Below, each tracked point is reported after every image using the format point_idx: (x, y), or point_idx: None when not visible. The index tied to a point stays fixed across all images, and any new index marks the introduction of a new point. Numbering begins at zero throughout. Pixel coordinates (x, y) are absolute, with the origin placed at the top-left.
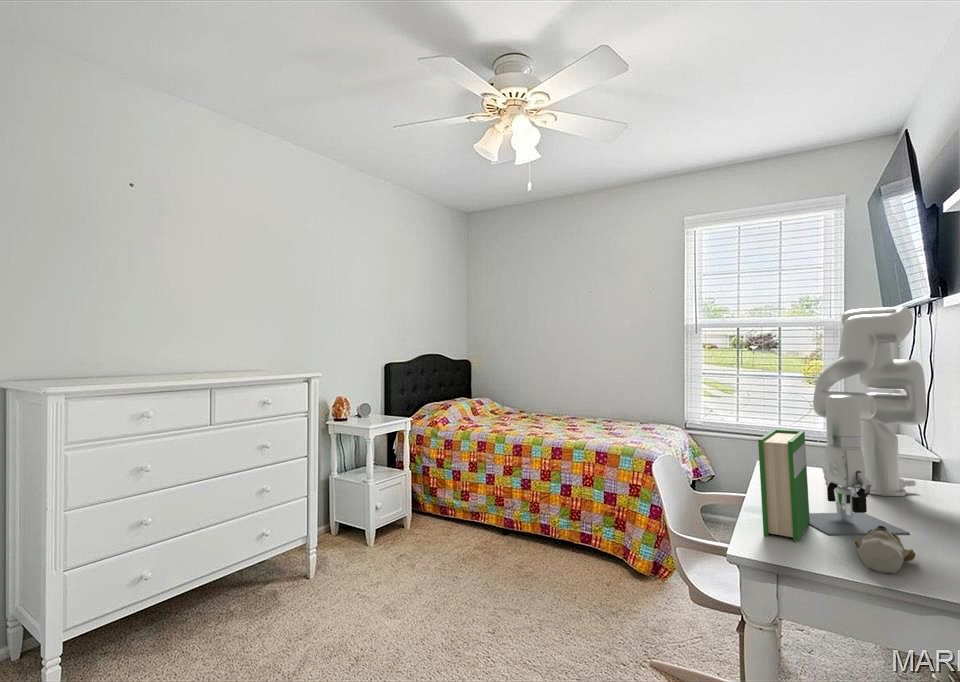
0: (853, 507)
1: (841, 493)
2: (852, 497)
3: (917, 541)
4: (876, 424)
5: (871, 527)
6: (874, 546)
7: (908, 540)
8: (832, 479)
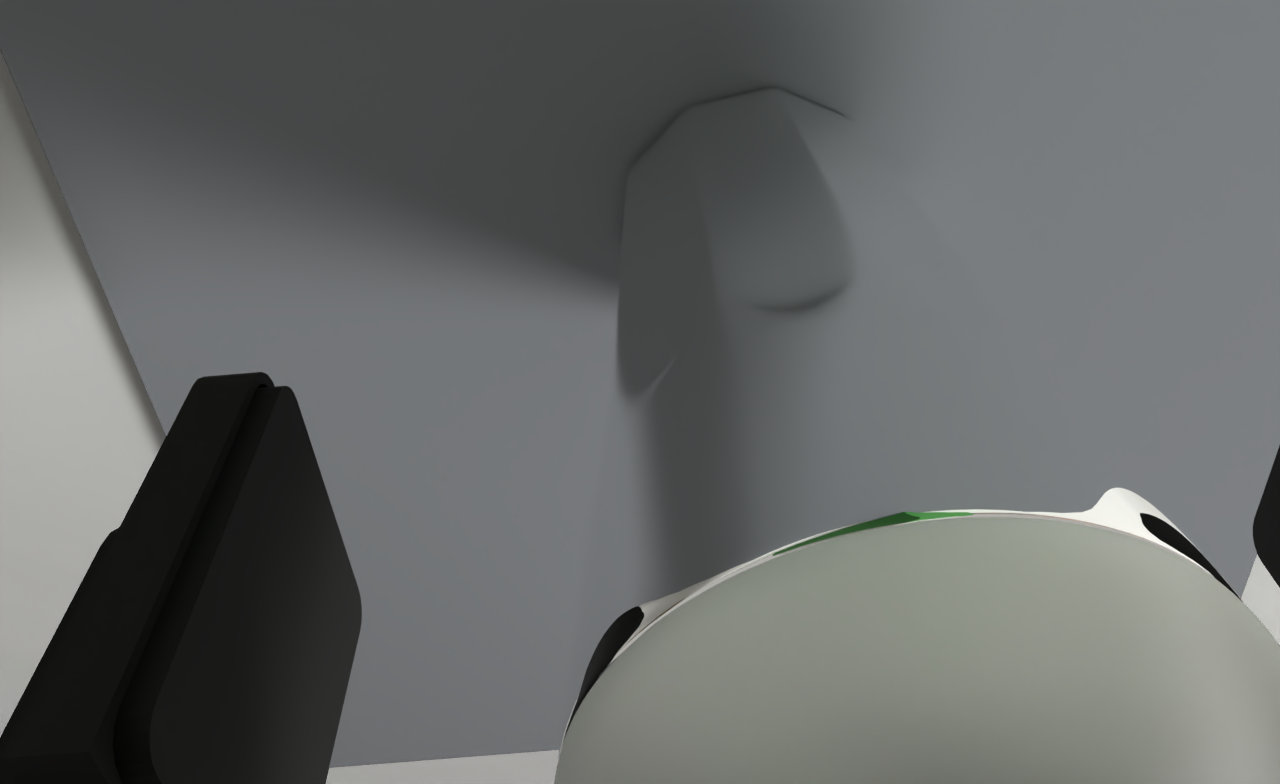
0: (176, 456)
1: (665, 631)
2: (64, 722)
3: (19, 700)
4: None
5: (471, 476)
6: None
7: (21, 636)
8: None
